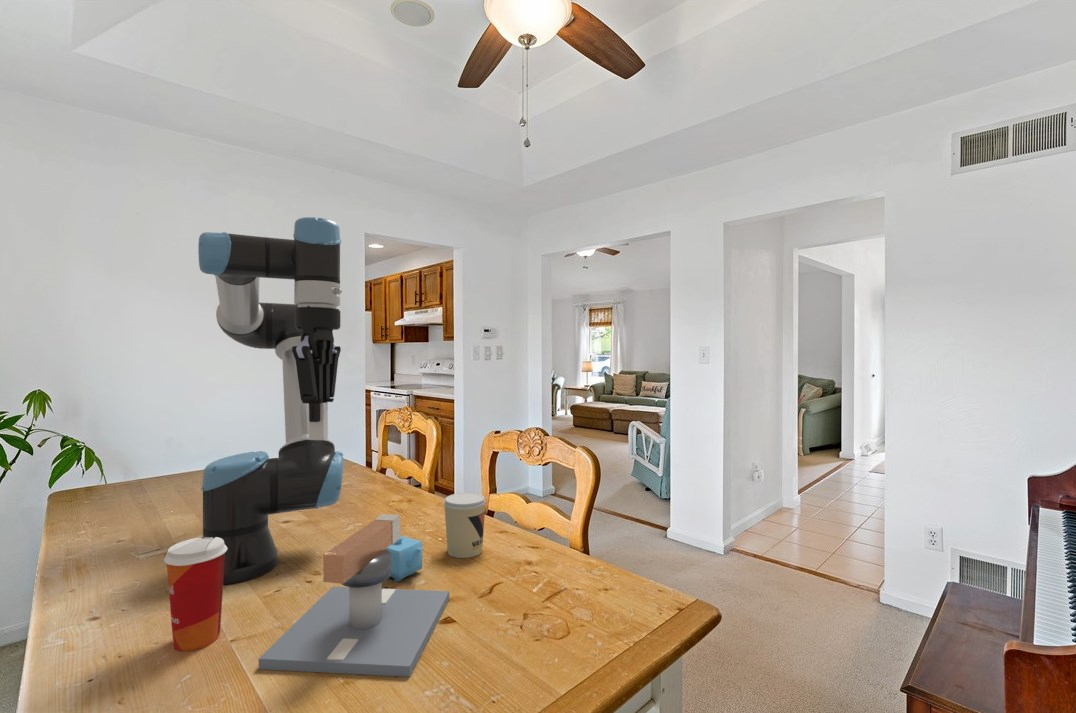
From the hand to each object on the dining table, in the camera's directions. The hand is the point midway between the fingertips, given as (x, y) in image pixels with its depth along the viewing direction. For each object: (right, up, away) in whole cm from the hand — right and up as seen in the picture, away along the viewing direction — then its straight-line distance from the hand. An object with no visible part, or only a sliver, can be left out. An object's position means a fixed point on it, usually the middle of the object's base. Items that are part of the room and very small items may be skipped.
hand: (318, 439), depth 91 cm
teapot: (+12, -30, +12) cm, 34 cm away
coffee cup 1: (-14, -30, -11) cm, 35 cm away
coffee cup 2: (+23, -29, +24) cm, 44 cm away
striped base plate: (+11, -30, -8) cm, 33 cm away
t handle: (+11, -21, -9) cm, 25 cm away
